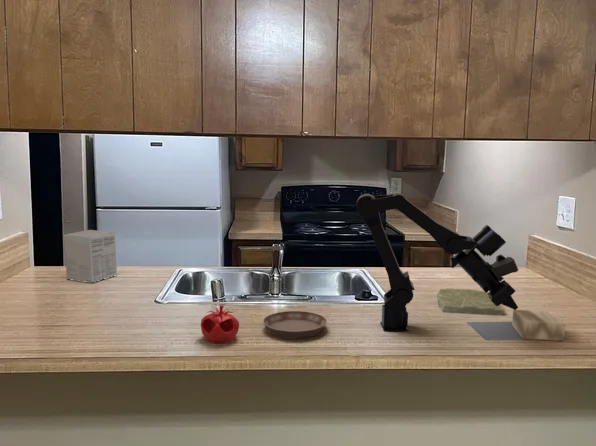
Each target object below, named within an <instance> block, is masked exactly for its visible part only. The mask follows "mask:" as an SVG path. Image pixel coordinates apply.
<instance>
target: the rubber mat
mask: <svg viewBox="0 0 596 446" xmlns="http://www.w3.org/2000/svg"><path fill="white" fill-rule="evenodd" d="M466 324H468V326H470V327H471V328H472V329H473V330H474V331H475V332H476V333H477V334H478V335H479V336H481V338H483V339H484V340H485V341H535V340H534V339H523V338H522V337H521V336H520V335H519V333H518V332H517V331H516V329H515V328H514V327H513V326H512V321H466ZM565 340H566V341H567V340H568V341H570V340H569V338H567V337H566V336H564V340H563V341H565Z"/></svg>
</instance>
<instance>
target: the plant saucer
mask: <svg viewBox="0 0 596 446" xmlns="http://www.w3.org/2000/svg"><path fill="white" fill-rule="evenodd" d="M262 321H263V324H264V326H265V328H266V329H267V330H268V331H269V332H270V333H271V334H272V335H274V336H276V335H277V337H279V336H280V338H284V337H285V339H306V338H310V337H313V336H316V335H318V334H319V333H321V331H322V330H323V329H324V328H325V326H326V324H327V317H326V318H325V316H323V315H321V314H318V313H315V312H310V311H301V310H288V311H287V310H286V311H281V312H280V311H279V312H276V313H272V314H268V315H267V316H266V317H265V316H264V318H263V320H262ZM305 337H306V338H305Z"/></svg>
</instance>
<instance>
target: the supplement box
mask: <svg viewBox="0 0 596 446" xmlns="http://www.w3.org/2000/svg"><path fill="white" fill-rule="evenodd" d="M63 240H64V241H63V242H64V257H65V272H66V274H65V275H66V280H67V279H73V280H80V281H87V282H95V281H98V280H101V279H104V278H107V277H111V276H114V275H117V276H118V269H117V250H116V249H117V248H116V245H117V244H116V232H115V231H106V230H96V229H95V230H94V229H87V230H81V231H76V232H71V233H66V234H64V235H63ZM95 283H96V282H95Z"/></svg>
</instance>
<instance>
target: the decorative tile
mask: <svg viewBox="0 0 596 446" xmlns="http://www.w3.org/2000/svg"><path fill="white" fill-rule="evenodd" d="M488 293H489V291H488V292H487V293H486V292H485V291H484V290H477V289H467V288H466V289H465V288H444V289H443V288H440V289H439V292H437V294H436V296H437V307H438V308H439V309H440V311H441V312H442V313H447V314H449V313H450V314H461V315H462V314H463V315H464V314H466V315H483V316H500V317H501V316H503V315H504V309H503V308H502V306H501V304H500V305H499V306H496V305H495V304H494V303H493V302H492V301H491V300H490V298H489V295H488Z"/></svg>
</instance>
